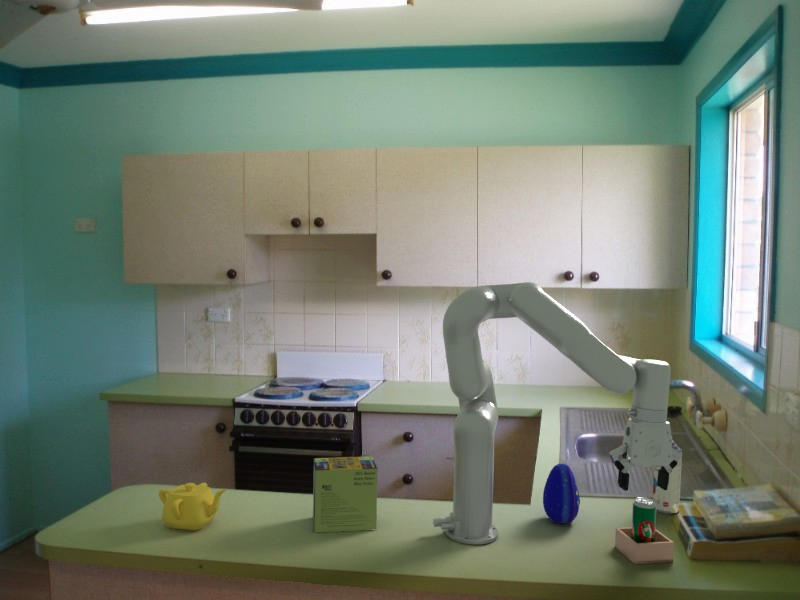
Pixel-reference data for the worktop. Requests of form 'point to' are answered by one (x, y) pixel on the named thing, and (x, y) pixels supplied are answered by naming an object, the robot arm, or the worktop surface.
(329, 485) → the protein box
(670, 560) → the box
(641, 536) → the soda can
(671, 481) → the aerosol can
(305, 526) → the worktop surface
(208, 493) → the teapot
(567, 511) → the ornament
